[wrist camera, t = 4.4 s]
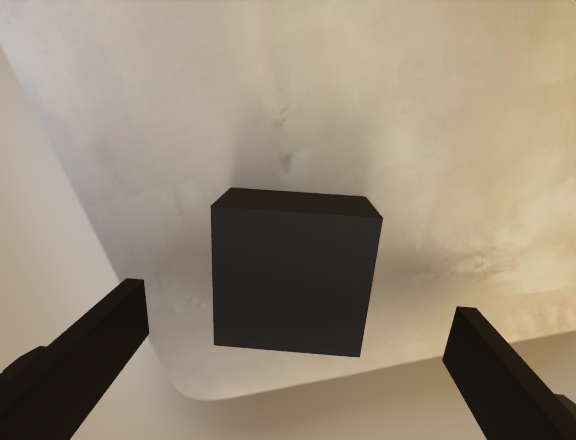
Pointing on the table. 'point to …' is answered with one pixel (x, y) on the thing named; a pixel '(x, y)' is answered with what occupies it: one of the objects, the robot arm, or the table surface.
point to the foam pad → (292, 270)
